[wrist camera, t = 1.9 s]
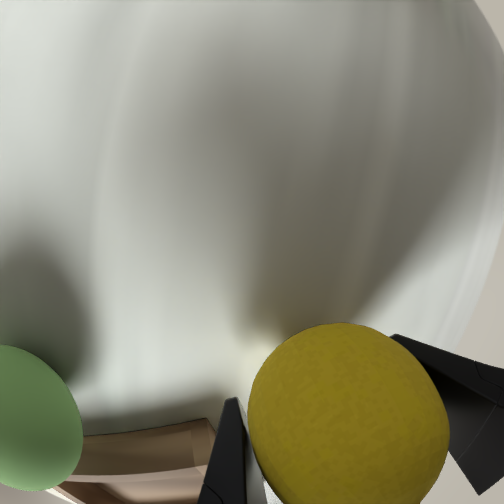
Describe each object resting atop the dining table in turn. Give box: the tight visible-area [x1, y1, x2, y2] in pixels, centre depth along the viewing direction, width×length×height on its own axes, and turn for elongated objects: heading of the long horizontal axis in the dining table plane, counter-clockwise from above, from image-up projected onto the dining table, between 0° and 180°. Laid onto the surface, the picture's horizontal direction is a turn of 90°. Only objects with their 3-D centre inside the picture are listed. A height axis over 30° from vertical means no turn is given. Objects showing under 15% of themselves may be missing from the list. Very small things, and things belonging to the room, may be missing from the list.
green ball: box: [0, 345, 83, 491], centre depth 6 cm, size 6×6×6 cm
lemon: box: [247, 323, 450, 504], centre depth 7 cm, size 6×6×8 cm
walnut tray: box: [52, 418, 216, 504], centre depth 12 cm, size 11×11×2 cm
